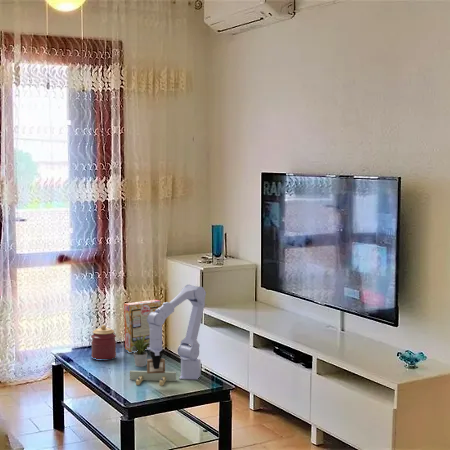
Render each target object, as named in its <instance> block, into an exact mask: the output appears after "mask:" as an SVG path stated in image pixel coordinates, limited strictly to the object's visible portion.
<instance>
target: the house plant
mask: <svg viewBox="0 0 450 450" xmlns="http://www.w3.org/2000/svg"><path fill="white" fill-rule="evenodd" d="M146 336H147V335H144V336H143V338H142V340H141V334H140V337H139V340H138V338H137V337H136V336H135V337H136V340H137V342H135V341H133V340H132V339H130V338H131V337H130V338H129V339H130V340H132V342H133V343H134V344H132V345H134V346H135V347H136V349H137V350H138V351H137V350H136V349H135V348H134V350H136V351H137V352H135V353H133V358H134V359H133V360H134V364H135V367H138V368H139V367H147V359H148V352H147V351H145V349H147V348H146V347H147V346H148V345H150V343H148V344H147V343H146V342H147V341H148V340H149V339H150V338H149V339H148V340H147V341H145V342H144V340H145V337H146ZM135 343H136V344H137V345H136V344H135ZM144 343H145V344H146V345H145V344H144ZM149 347H150V346H148V348H149ZM131 348H133V347H130V349H131ZM131 350H132V349H131Z"/></svg>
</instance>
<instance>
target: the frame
mask: <svg viewBox="0 0 450 450" xmlns="http://www.w3.org/2000/svg"><path fill="white" fill-rule="evenodd" d="M146 371H147V374H149V373H165V372H166V359H165V358H162V357H161V360H160V365H159V369H154V366H153V360H152V358H147V360H146Z"/></svg>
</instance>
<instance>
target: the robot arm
mask: <svg viewBox="0 0 450 450" xmlns="http://www.w3.org/2000/svg"><path fill="white" fill-rule="evenodd" d="M206 295H207V292H206V291H205V288H204V287H203V286H201V285H200V286H198V285H197V286H196V285H192V284H186V285H185V286H184V287H181V291H179V293H178V294H177V295H176V296H175V297H174V298H172V299H171V300H170V301H166V302H163V303H162V304H161V307H160V308H158V309H156V311H155V312H151V313H150V314H149V315H148V318H147V322H148V323H149V327H150V347H149V348H147V350H148V351H149V356H150V357H151V359H152V360H153V366H154V369H159V365H160V360H161V358H162V357H163V353H162V351H163V349H164V348H163V325H164V323H165V322H166V320H167V318H168V317H169V316H170V315H172V314H173V313H174V312H175V308H177V307H178V306H179V305H181V304H182V303H184V302H185V301H187V300H188V301H189V302H190V304H191V305H192V308H191V313H190V316H189V320H188V325H187V329H186V333H185V334H186V335H185V337H184V338H183V339H181V341H180V344H179V345H178V347H177V355H178V356H179V358H180V376H179V377H178V378H179V380H199V379H200V378H201V376H202V374H201V373H202V369H201V368H202V367H201V366H202V365H201V363H202V362H201V359H200V358H198V357H200V343H199V342H198V335H199V331H200V327H201V323H202V319H203V318H202V317H203V314H204V309H205V306H206V305H205V304H206V302H205V301H206ZM200 375H201V376H200ZM199 377H200V378H199ZM198 378H199V379H198Z"/></svg>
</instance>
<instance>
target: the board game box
mask: <svg viewBox="0 0 450 450" xmlns="http://www.w3.org/2000/svg"><path fill="white" fill-rule="evenodd" d="M123 305H124V306H123V307H124V310H123V311H124V314H123V315H124V317H123V318H124V350H125V349H126V350H128V351H129V352H132V351H136V350H137V349H136V347H135V346H134V345H132V344H134V343H133V342H132V340H133V341H135V342H137V340H136V337H137V338H138V340H139V337H140V334H141V340H142V338H143V336H144V335H147V336H146V337H145V340H144V342H145V341H147V340H148V339H149V338H150V327H149V323H148V322H147V318H148V315H149V314H150V313H151V312H155V311H156V309H158V308H160V307H161V306H162V300H159V299H151V300H142V301H136V302H135V301H133V302H126V303H124V304H123ZM135 336H136V337H135ZM130 337H131V338H130ZM129 338H130V339H132V340H130V339H129ZM146 343H147V344H148V343H150V339H149V340H148V341H147V342H146ZM135 344H136V343H135ZM144 344H145V343H144ZM136 345H137V344H136ZM145 345H146V344H145ZM148 346H150V345H148ZM148 346H147V347H146V348H148ZM130 347H133V348H131V349H132V350H131V349H130ZM134 348H135V349H136V350H134Z"/></svg>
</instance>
